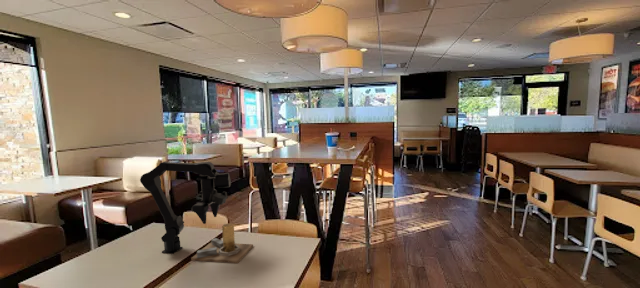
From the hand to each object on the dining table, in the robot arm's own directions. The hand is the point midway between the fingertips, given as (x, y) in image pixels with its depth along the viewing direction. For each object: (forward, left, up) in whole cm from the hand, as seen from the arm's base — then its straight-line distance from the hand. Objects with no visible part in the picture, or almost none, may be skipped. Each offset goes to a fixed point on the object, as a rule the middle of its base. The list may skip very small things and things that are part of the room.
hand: (210, 220), depth 135 cm
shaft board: (+10, -4, -13) cm, 17 cm away
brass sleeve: (+13, -4, -12) cm, 18 cm away
